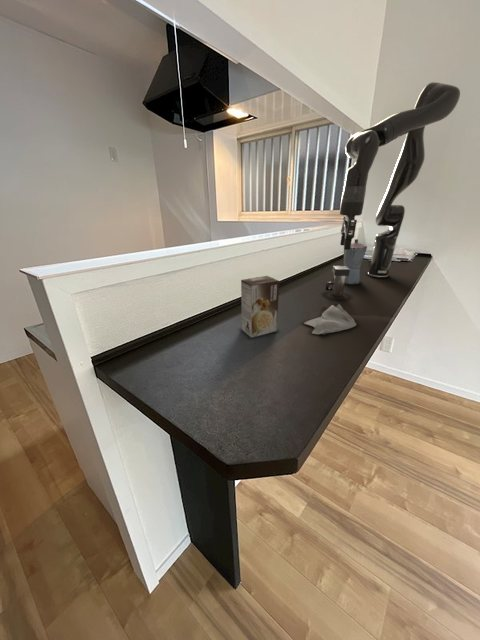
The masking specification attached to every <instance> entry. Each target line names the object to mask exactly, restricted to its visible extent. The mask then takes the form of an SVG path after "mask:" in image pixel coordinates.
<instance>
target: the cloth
mask: <svg viewBox="0 0 480 640" xmlns="http://www.w3.org/2000/svg"><path fill="white" fill-rule="evenodd" d="M343 308H344V307H342V306H341V304H340V303H338V304H337V305H334V304H331V305H330V306H329V307H328V308H327V309H326V310H324V311H323V312H322V313H321V315H320V316H319V317H316V318H312V319H310V320H307V321H305V322H303V324H304V325H306V326H309V327H312V328H314V329H313V330H312V331H311V334H313V335H318V336H319V335H323V336H324V335H329V334H332V333H336V332H342V331H345V330H349V329H352V328H354V327H356V326H357V322H355V319H354V318H353V317H352V316H351V315H350V314H349V313H348V312H347V311H346V310H345V309H343Z"/></svg>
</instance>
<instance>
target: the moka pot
mask: <svg viewBox="0 0 480 640" xmlns="http://www.w3.org/2000/svg"><path fill="white" fill-rule="evenodd" d="M367 250H368V246H367V245H365V244H363V243H359V239H358V238H355V239H354V242H351V247H350V249H349V250H345V249H344V248H343V266H347V267H348V268H349V269H350V271H349V276H346V282H345V284H347V285H358V284H360V281H361V280H360V279H361V265H362V264H363V261H364V259H365V255H366V252H367Z"/></svg>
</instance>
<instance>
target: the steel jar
mask: <svg viewBox="0 0 480 640" xmlns="http://www.w3.org/2000/svg"><path fill="white" fill-rule="evenodd" d="M349 271H350V269H349V268H348V267H347V266H344V265H333V266H332V272H331V273H332V274H333V278H332V281H327V282H326V283H325V291H329V292H330V295H332V296H335V297H343V296H344V292H345V288H346V283H345V282H346V276H349ZM330 285H331V287H330Z"/></svg>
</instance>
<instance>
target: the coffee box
mask: <svg viewBox="0 0 480 640" xmlns="http://www.w3.org/2000/svg"><path fill="white" fill-rule="evenodd" d="M240 288H241V289H240V291H241V293H240V294H241V295H240V296H241V299H240V300H241V303H240V304H241V330H242V332H244V333H245V334H247V336H249V338H252V339H253V338H256V337H260V336H265V335H268V334H271V333H275V332H277V331H278V315H279V312H278V311H279V296H280V295H279V294H280V280H279V279H276V278H274V277H271V276H269V275H264V276H263V275H262V276H256V277H251V278H244V279H240Z"/></svg>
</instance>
